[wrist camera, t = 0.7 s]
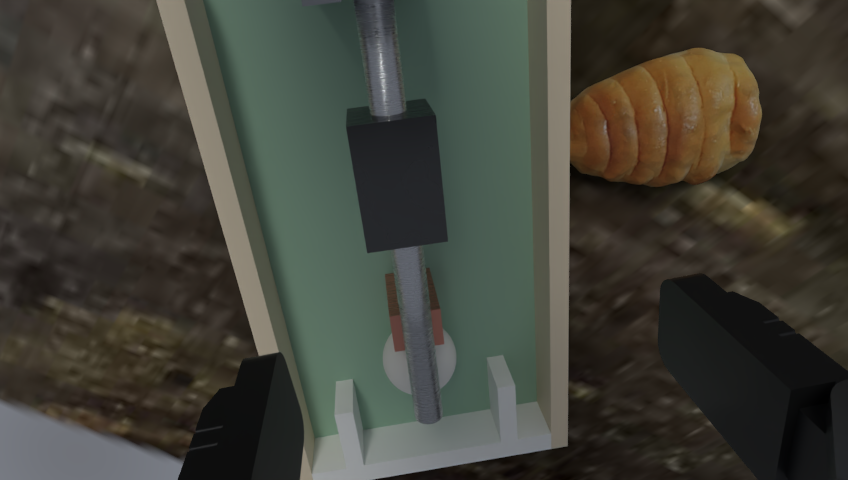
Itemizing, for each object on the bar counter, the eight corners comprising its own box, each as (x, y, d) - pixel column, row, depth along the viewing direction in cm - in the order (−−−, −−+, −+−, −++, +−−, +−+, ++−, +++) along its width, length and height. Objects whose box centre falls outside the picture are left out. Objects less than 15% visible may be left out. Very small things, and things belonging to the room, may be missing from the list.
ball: (376, 312, 31) (379, 355, 27) (447, 301, 31) (459, 342, 27) (385, 369, 32) (389, 417, 29) (453, 358, 33) (465, 404, 29)
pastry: (555, 192, 30) (581, 217, 27) (551, 66, 28) (579, 77, 24) (718, 165, 31) (764, 186, 27) (730, 38, 28) (783, 44, 25)
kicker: (309, -141, 21) (292, -189, 15) (391, -149, 22) (405, -200, 16) (390, 358, 32) (399, 443, 26) (445, 349, 32) (466, 432, 26)
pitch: (180, -22, 24) (100, -25, 16) (539, -63, 25) (621, -85, 17) (304, 440, 35) (290, 564, 28) (546, 400, 36) (597, 509, 29)
